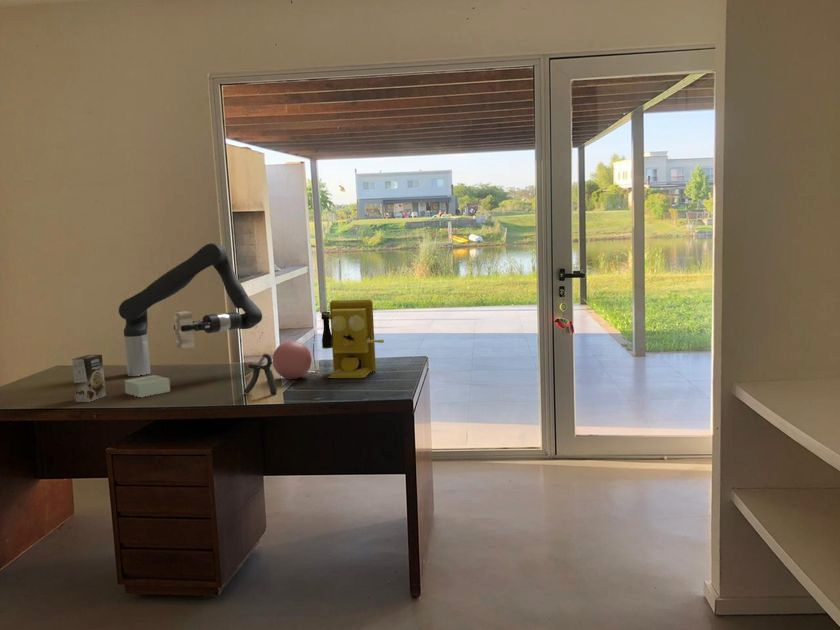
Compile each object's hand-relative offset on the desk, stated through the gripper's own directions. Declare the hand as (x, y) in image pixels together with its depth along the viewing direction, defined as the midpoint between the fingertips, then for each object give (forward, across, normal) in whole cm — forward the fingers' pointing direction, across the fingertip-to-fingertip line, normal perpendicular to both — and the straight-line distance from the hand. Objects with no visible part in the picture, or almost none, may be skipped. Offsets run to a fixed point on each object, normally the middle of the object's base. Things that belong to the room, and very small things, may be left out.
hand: (178, 328), depth 276 cm
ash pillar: (-3, 0, +8) cm, 8 cm away
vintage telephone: (-50, +42, +23) cm, 69 cm away
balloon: (-35, +27, +23) cm, 50 cm away
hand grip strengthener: (-10, +40, +23) cm, 47 cm away
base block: (+14, 0, +23) cm, 27 cm away
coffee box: (+32, -8, +23) cm, 41 cm away
